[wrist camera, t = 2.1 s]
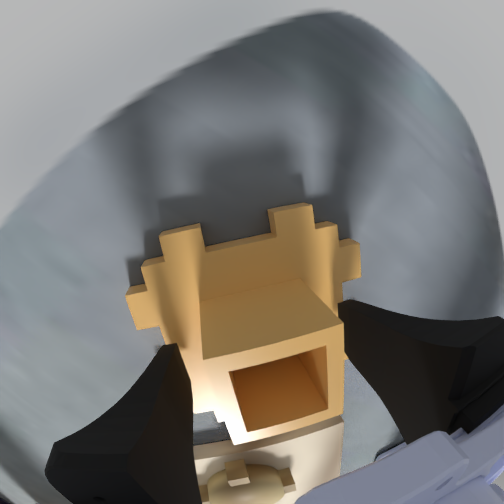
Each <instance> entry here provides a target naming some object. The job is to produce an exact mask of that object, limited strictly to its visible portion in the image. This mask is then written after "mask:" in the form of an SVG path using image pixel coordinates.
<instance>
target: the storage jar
mask: <svg viewBox="0 0 504 504" xmlns="http://www.w3.org/2000/svg"><path fill="white" fill-rule="evenodd" d="M0 504H10V503H8V502H7V501H5V500H3V499H1V498H0Z"/></svg>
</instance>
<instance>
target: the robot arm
mask: <svg viewBox="0 0 504 504" xmlns="http://www.w3.org/2000/svg"><path fill="white" fill-rule="evenodd" d="M337 304H338V318H339V319H340V320H341V321H342V322H343V323H344V352H345V354H346V355H347V357H348V358H349V360H350V361H351V362H352V364H353V365H354V366H355V367H356V369H357V370H358V371H359V372H360V373H361V375H362V376H363V377H364V378H365V379H366V381H367V382H368V383H369V384H370V385H371V387H372V388H373V389H374V390H375V391H376V393H377V394H378V396H379V397H380V398H381V400H382V401H383V403H384V405H385V406H386V408H387V409H388V411H389V413H390V414H391V416H392V418H393V420H394V421H395V423H396V425H397V427H398V428H399V430H400V432H401V434H402V436H403V438H404V440H405V442H404V443H402V444H400V445H398V446H396V447H394V448H392V449H390V450H388V451H386V452H384V453H382V454H380V455H379V456H378V457H377V458H376V461H375V462H373V463H371V464H368V465H366V466H364V467H362V468H359V469H357V470H355V471H352V472H350V473H347V474H345V475H342V476H340V477H337V478H334V479H332V480H330V481H328V482H325V483H323V484H321V485H319V486H316V487H314V488H312V489H311V490H309V491H308V492H306V493H305V494H304V495H302V496H301V497H299V498H298V499H297V500H296V502H295V503H294V504H504V491H503V490H502V489H501V488H500V487H499V486H498V485H496V484H491V483H492V482H493V481H494V480H495V479H496V478H497V477H498V476H499V475H500V474H501V473H502V472H503V471H504V319H503V318H501V317H499V316H496V317H490V318H484V319H477V320H463V321H448V320H433V319H425V318H418V317H413V316H408V315H404V314H400V313H396V312H392V311H389V310H385V309H382V308H379V307H375V306H372V305H369V304H366V303H363V302H359V301H355V300H351V299H350V300H346V301H343V302H340V303H337ZM45 476H46V477H47V479H48V481H49V482H50V484H51V485H52V486H53V487H54V488H55V489H56V490H58V491H59V492H60V493H61V494H62V495H63V496H64V497H66V498H67V499H68V500H69V501H70V502H72V503H73V504H202V500H201V495H200V490H199V485H198V479H197V473H196V467H195V460H194V453H193V394H192V386H191V380H190V377H189V374H188V372H187V369H186V367H185V364H184V361H183V358H182V356H181V353H180V350H179V347H178V345H177V343H173V344H167V345H163V346H162V347H161V348H160V350H159V351H158V352H157V354H156V355H155V357H154V358H153V360H152V361H151V363H150V364H149V365H148V367H147V368H146V370H145V371H144V372H143V374H142V375H141V376H140V377H139V379H138V380H137V381H136V382H135V384H134V385H133V386H132V387H131V389H130V390H129V391H128V392H127V393H126V394H125V395H124V396H123V397H122V398H121V399H120V400H119V401H118V402H117V403H116V404H115V405H114V406H113V407H111V408H110V409H109V410H108V411H106V412H105V413H104V414H103V415H101V416H100V417H99V418H98V419H96V420H95V421H93V422H92V423H90V424H89V425H87V426H86V427H84V428H82V429H81V430H79V431H77V432H75V433H74V434H72V435H69V436H67V437H65V438H63V439H61V440H59V441H57V442H54V444H53V447H52V450H51V453H50V456H49V459H48V462H47V465H46V468H45ZM36 504H39V503H36Z"/></svg>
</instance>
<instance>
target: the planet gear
mask: <svg viewBox="0 0 504 504" xmlns="http://www.w3.org/2000/svg"><path fill="white" fill-rule="evenodd" d="M267 211H268V217H269V223H270V229H271V233H266V234H261V235H257V236H252V237H247V238H243V239H238V240H233V241H229V242H224V243H219V244H215V245H210V246H206V247H205V244H204V239H203V235H202V230H201V225H200V223H198V224H193V225H189V226H184V227H180V228H175V229H171V230H166V231H162V232H161V234H160V235H159V240H160V244H161V248H162V252H163V256H161V257H156V258H152V259H147V260H145V261H144V262H143V264H142V266H141V270H142V274H143V277H144V280H145V284H140V285H136V286H131V287H129V289H128V291H127V293H126V295H125V297H126V300H127V303H128V306H129V309H130V312H131V315H132V317H133V320H134V323H135V325H136V328H137V330H140V329H146V328H151V327H156V326H159V327H160V329H161V332H162V335H163V338H164V341H165V343H166V345H167V344H173V343H177V345H178V347H179V350H180V353H181V356H182V358H183V361H184V364H185V367H186V369H187V372H188V374H189V377H190V380H191V386H192V394H193V412H194V414H196V413H202V412H207V411H213V410H214V413H215V415H216V418H217V420H218V422H222V421H225V424H226V426H227V429H228V431H229V434H230V436H231V439H232V441H233V444H234V445H237V444H241V443H246V442H250V441H255V440H259V439H263V438H267V437H271V436H275V435H278V434H282V433H286V432H289V431H293V430H296V429H299V428H302V427H306V426H309V425H312V424H315V423H318V422H321V421H324V420H327V419H329V418H332V417H335V416H338V415H340V414H343V402H344V360H346V359H349V358H348V357H347V355H346V354H345V352H344V323H343V322H342V321H341V320H340V319H339V318H338V304H337V303H340V302H343V293H342V282H346V281H349V280H353V279H356V278H360V277H361V262H360V244H359V243H358V242H356V241H354V240H352V239H349V238H347V239H343V240H339V237H338V227H337V224H334V223H331V222H329V221H324V222H319V223H314V215H313V207H312V205H311V204H307V203H304V202H303V203H297V204H292V205H286V206H281V207H276V208H271V209H267Z"/></svg>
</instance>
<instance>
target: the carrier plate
mask: <svg viewBox="0 0 504 504" xmlns="http://www.w3.org/2000/svg"><path fill="white" fill-rule="evenodd" d="M343 431H344V421H343V419H342V417H341V416H340V415H338V416H335V417H332V418H329V419H327V420H324V421H321V422H318V423H315V424H312V425H309V426H306V427H302V428H299V429H296V430H293V431H289V432H286V433H282V434H278V435H275V436H271V437H267V438H263V439H259V440H255V441H250V442H246V443H241V444H237V445H234V444H233V441H232V439H230V440H225V441H220V442H214V443H208V444H202V445H196V446H193V453H194V460H195V467H196V473H197V479H198V485H199V490H200V495H201V500H202V504H294V503H295V502H296V500H297V499H298V498H299V497H301V496H302V495H304V494H305V493H306V492H308V491H309V490H311V489H312V488H314V487H316V486H319V485H321V484H323V483H325V482H328V481H330V480H332V479H334V478H337V477H340V467H341V457H342V445H343Z"/></svg>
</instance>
